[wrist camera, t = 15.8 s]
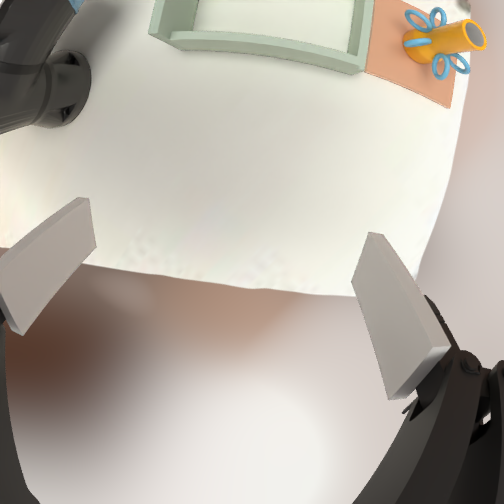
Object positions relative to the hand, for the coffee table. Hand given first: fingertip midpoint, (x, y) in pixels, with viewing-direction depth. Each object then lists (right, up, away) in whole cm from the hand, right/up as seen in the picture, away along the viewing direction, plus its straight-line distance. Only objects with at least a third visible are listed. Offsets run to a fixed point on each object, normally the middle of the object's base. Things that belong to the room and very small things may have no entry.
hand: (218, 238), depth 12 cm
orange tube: (+27, +31, +14) cm, 43 cm away
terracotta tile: (+27, +31, +15) cm, 44 cm away
